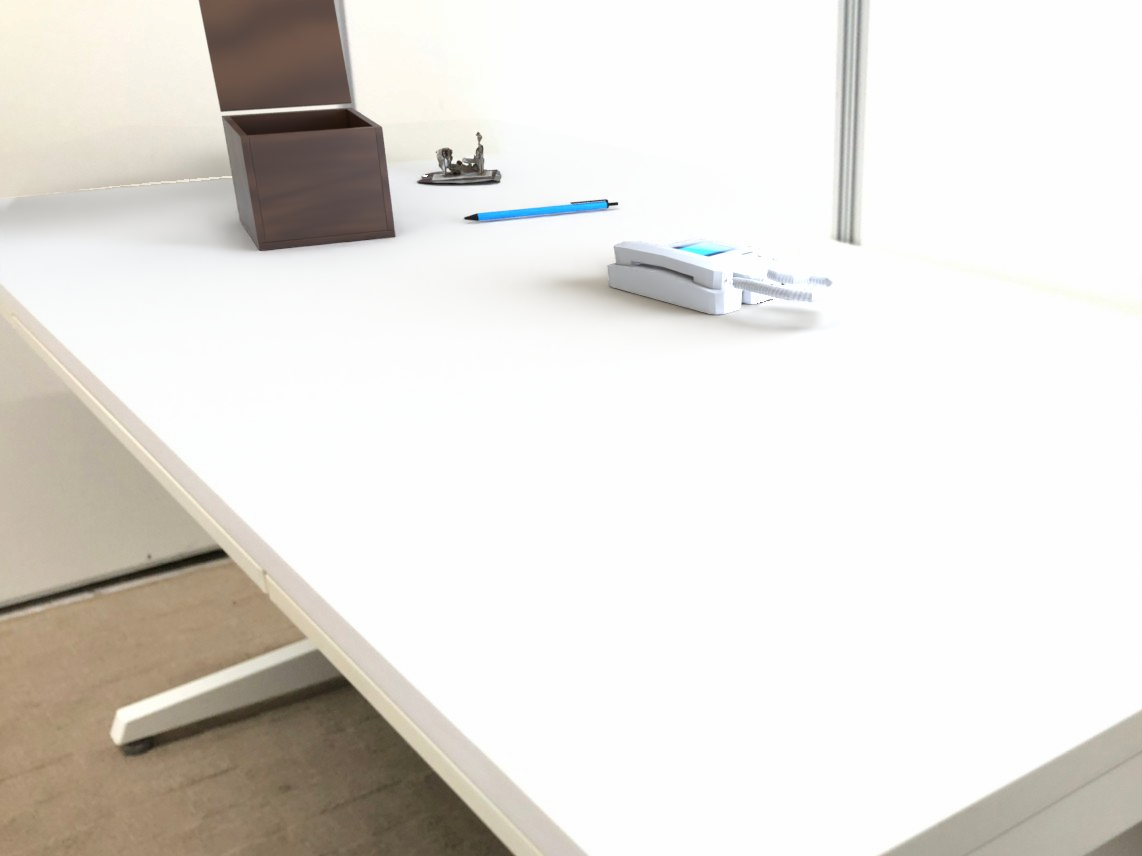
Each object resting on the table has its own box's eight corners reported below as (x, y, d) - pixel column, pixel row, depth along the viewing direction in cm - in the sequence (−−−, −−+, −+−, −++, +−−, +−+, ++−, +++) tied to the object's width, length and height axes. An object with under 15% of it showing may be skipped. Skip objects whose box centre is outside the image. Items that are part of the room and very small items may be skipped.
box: (395, 236, 146) (382, 126, 140) (259, 250, 140) (240, 136, 135) (365, 208, 159) (351, 107, 154) (239, 220, 153) (221, 115, 148)
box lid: (324, -56, 149) (323, -55, 150) (188, -54, 144) (188, -52, 144) (351, 102, 153) (350, 103, 154) (221, 111, 148) (220, 112, 148)
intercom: (797, 288, 110) (601, 240, 125) (796, 338, 111) (603, 285, 127) (893, 259, 118) (699, 218, 134) (891, 306, 120) (700, 260, 135)
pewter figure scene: (394, 168, 176) (457, 128, 180) (419, 211, 180) (480, 170, 184) (430, 170, 167) (496, 127, 171) (456, 215, 171) (520, 172, 174)
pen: (619, 208, 158) (618, 198, 158) (464, 223, 151) (463, 213, 151) (616, 206, 159) (616, 197, 159) (462, 221, 152) (461, 211, 151)
